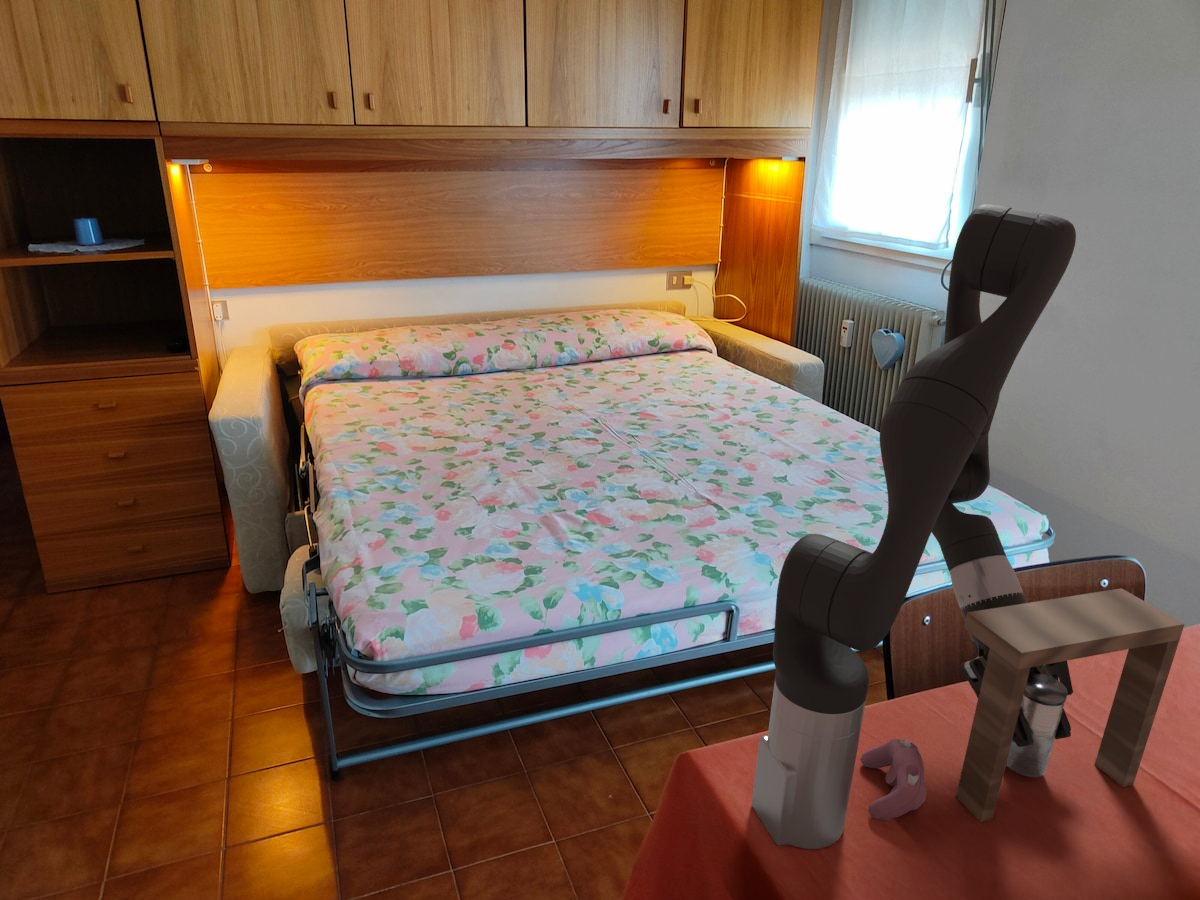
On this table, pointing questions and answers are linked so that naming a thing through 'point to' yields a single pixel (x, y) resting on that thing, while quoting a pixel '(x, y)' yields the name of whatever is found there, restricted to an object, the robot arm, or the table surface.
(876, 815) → the video game controller
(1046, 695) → the salt shaker
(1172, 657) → the walnut shelf
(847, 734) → the robot arm
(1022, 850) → the table surface
